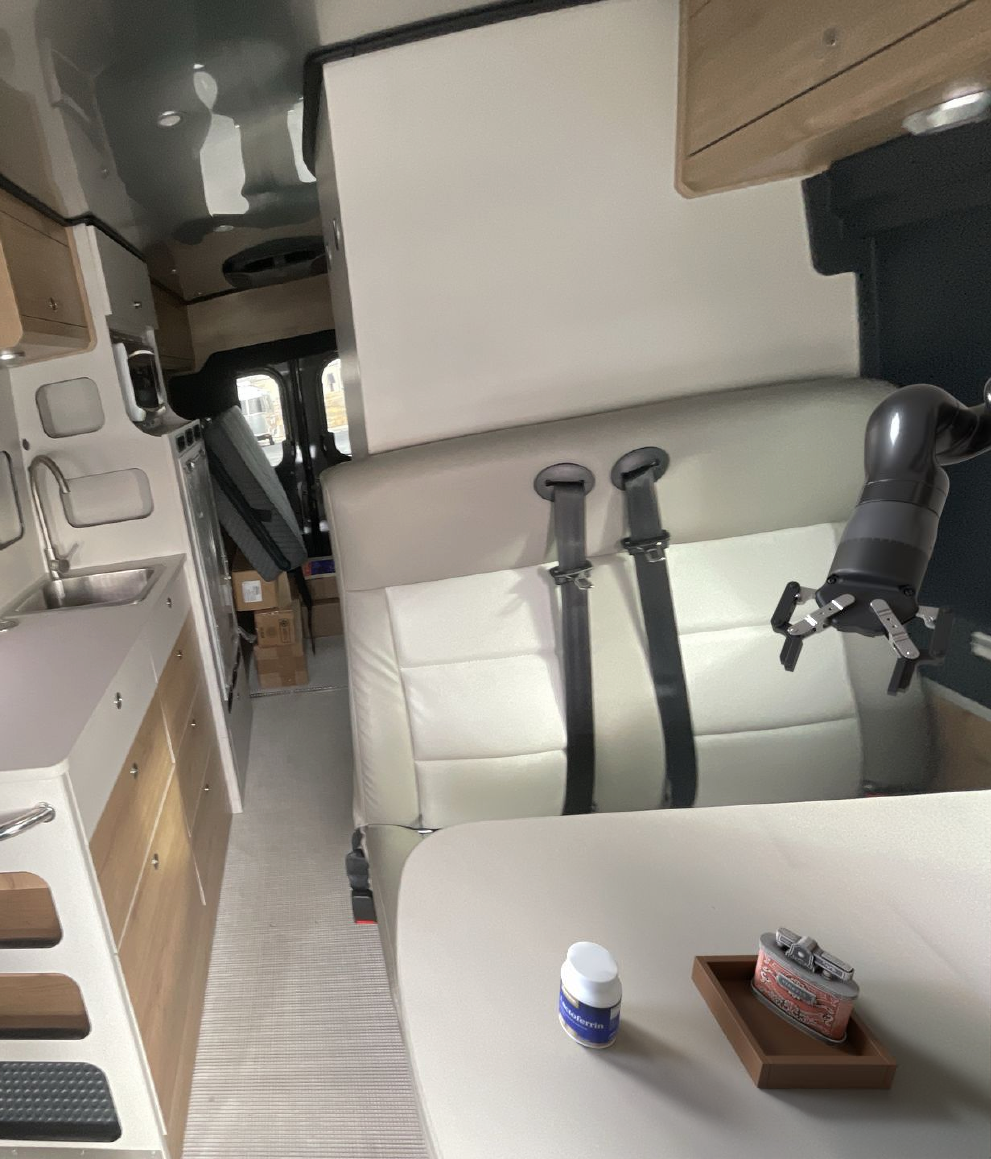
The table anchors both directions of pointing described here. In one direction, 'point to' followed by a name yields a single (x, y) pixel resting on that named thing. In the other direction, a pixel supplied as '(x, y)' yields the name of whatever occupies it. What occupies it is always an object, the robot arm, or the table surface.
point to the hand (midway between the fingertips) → (838, 681)
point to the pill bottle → (590, 995)
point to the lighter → (805, 985)
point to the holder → (786, 1035)
